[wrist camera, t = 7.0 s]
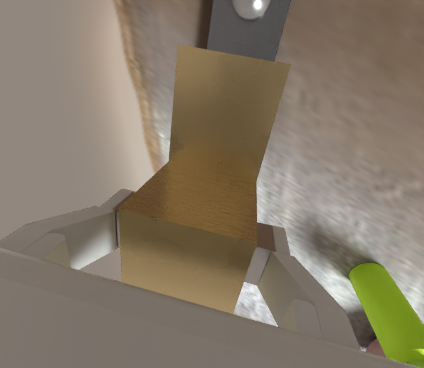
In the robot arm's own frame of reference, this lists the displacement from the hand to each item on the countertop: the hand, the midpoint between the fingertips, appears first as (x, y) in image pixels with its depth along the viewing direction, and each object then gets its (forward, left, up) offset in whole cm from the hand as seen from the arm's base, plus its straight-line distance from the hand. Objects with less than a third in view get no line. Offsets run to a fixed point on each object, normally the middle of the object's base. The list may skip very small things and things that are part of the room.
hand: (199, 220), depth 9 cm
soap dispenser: (+21, +28, -24) cm, 42 cm away
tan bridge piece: (0, 0, -8) cm, 8 cm away
